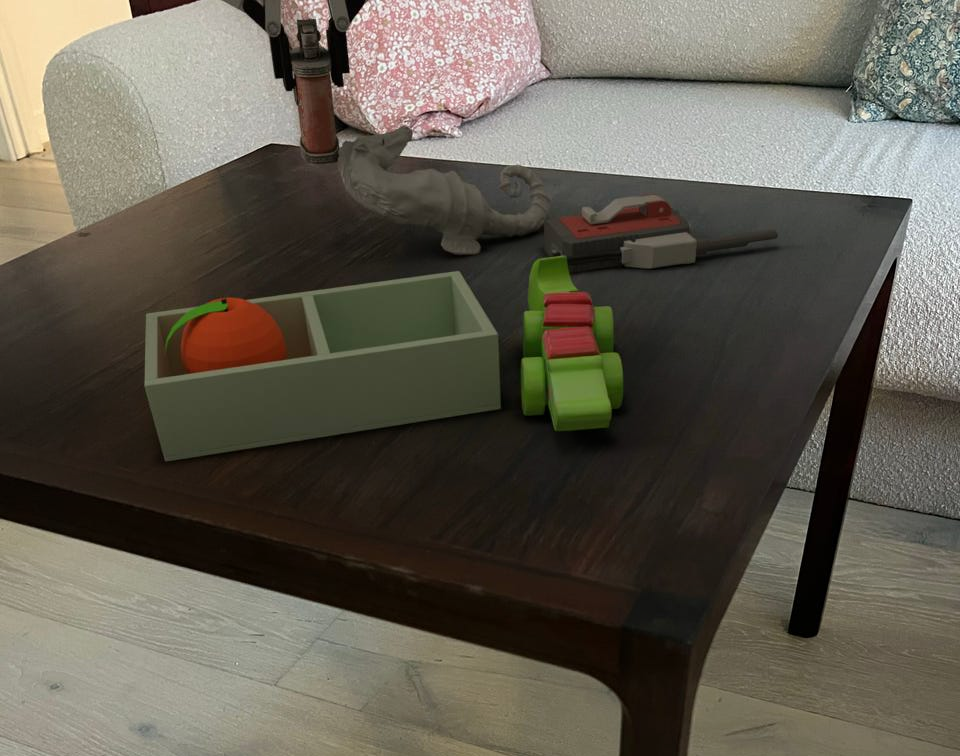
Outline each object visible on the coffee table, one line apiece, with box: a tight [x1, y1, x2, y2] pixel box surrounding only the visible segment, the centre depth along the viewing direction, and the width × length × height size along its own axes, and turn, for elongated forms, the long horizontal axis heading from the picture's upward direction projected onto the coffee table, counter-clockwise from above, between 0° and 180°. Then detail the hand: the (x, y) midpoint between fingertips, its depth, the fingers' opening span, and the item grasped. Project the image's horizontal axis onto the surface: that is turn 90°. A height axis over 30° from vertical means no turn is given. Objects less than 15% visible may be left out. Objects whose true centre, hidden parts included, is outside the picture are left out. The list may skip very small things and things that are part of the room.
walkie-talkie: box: [543, 193, 779, 273], centre depth 91 cm, size 9×4×20 cm
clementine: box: [164, 297, 286, 374], centre depth 70 cm, size 8×7×7 cm
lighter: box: [290, 18, 341, 167], centre depth 88 cm, size 8×3×10 cm, turn 10°
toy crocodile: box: [520, 256, 624, 432], centre depth 72 cm, size 20×7×6 cm, turn 179°
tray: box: [143, 270, 502, 462], centre depth 72 cm, size 12×22×6 cm, turn 103°
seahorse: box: [337, 125, 551, 256], centre depth 93 cm, size 5×12×20 cm
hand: (313, 83), depth 88 cm, fingers closed on lighter, 3 cm apart
